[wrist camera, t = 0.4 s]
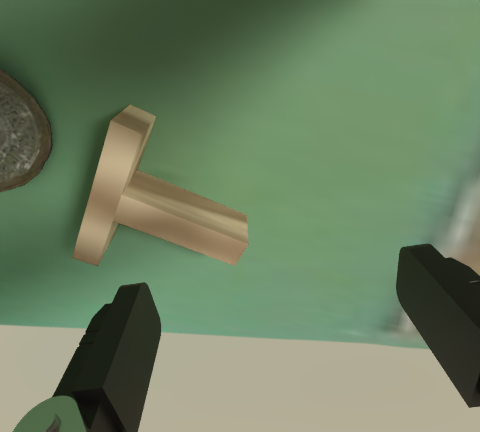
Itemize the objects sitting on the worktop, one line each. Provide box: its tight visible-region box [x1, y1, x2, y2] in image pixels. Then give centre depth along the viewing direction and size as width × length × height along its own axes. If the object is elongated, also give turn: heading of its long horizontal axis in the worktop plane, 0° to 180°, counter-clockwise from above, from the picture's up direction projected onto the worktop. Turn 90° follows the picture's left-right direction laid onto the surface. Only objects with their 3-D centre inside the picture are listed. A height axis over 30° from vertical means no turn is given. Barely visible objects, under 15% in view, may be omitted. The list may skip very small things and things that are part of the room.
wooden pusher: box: [72, 104, 248, 266], centre depth 26 cm, size 12×12×4 cm
